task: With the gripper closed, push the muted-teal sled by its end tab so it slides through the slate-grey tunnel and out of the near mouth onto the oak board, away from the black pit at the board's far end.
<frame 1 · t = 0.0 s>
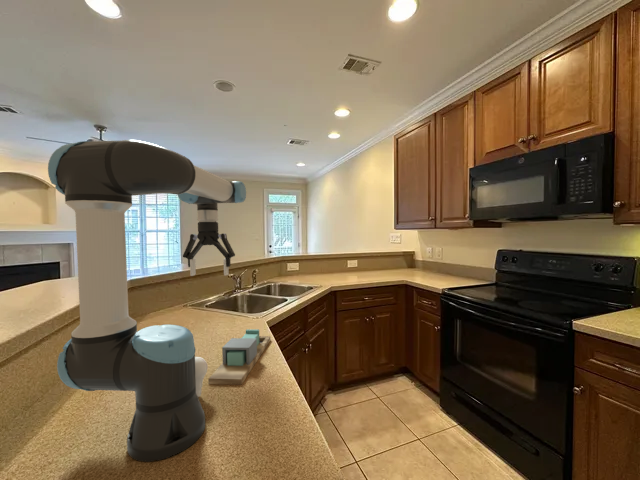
hand: (209, 275, 112), 28 cm above the worktop, fingers open, 13 cm apart
lightbulb: (196, 398, 77), on the worktop
sled: (244, 345, 101), point 4 cm above the worktop, slide at 0.0 cm
tunnel: (240, 363, 96), resting on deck
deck: (244, 358, 100), on the worktop
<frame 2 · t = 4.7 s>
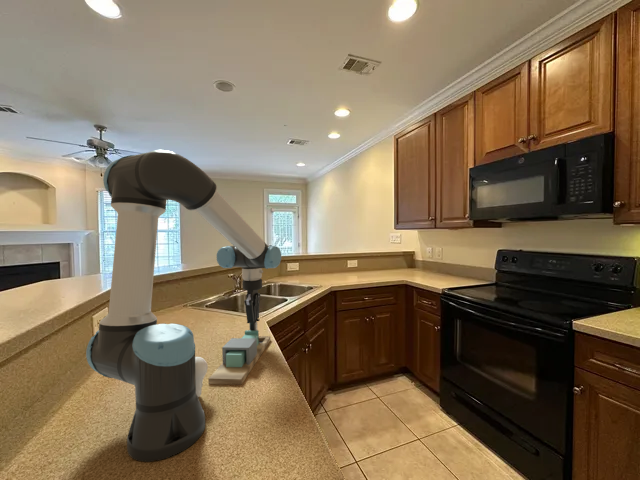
hand: (253, 338, 111), 3 cm above the worktop, fingers closed
sled: (243, 346, 100), point 4 cm above the worktop, slide at 1.0 cm, touching gripper
everything else where it was.
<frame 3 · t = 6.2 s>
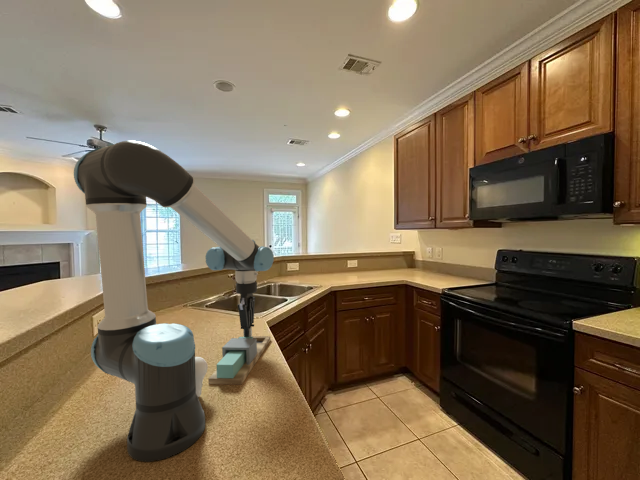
hand: (248, 345, 104), 3 cm above the worktop, fingers closed
sled: (236, 355, 93), point 4 cm above the worktop, slide at 7.8 cm, touching gripper
everything else where it was.
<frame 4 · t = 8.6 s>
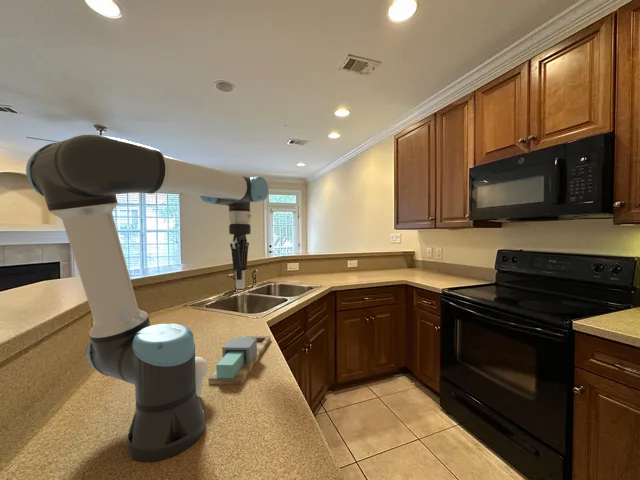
hand: (240, 288, 103), 24 cm above the worktop, fingers closed
sled: (236, 355, 93), point 4 cm above the worktop, slide at 7.9 cm
everything else where it was.
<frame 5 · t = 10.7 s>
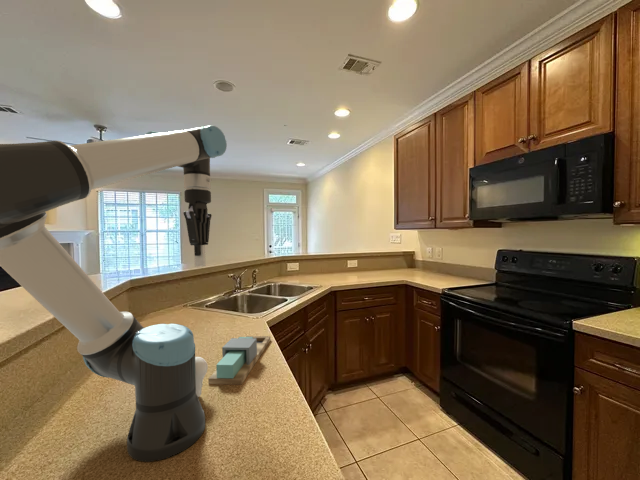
hand: (200, 266, 88), 34 cm above the worktop, fingers closed
nothing on the worktop moved.
at the end: sled slide at 7.9 cm; sled inside the target area (1.1 cm from its centre), point 4.3 cm above the worktop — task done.
